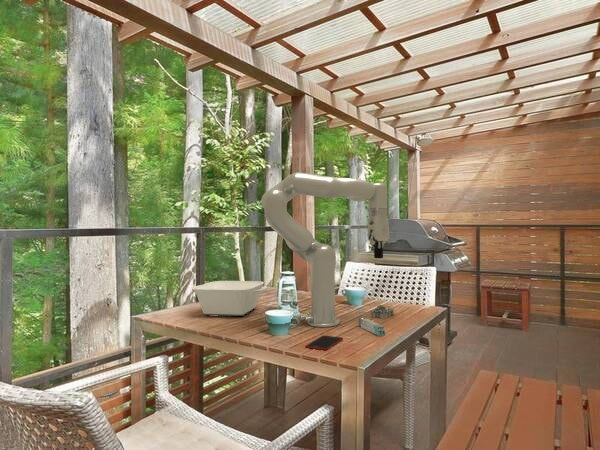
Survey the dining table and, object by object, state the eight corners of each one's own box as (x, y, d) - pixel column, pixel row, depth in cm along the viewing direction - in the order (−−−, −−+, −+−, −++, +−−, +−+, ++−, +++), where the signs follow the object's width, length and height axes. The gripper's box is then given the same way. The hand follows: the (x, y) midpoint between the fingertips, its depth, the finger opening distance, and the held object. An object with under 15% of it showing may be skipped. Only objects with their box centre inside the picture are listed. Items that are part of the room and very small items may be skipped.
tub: (182, 318, 182) (181, 288, 182) (208, 306, 208) (208, 280, 208) (256, 320, 174) (256, 290, 174) (274, 308, 200) (274, 281, 200)
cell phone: (343, 340, 144) (343, 337, 144) (326, 352, 130) (326, 349, 130) (323, 338, 147) (323, 335, 147) (304, 349, 134) (304, 346, 134)
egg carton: (380, 313, 185) (380, 304, 185) (396, 315, 181) (396, 305, 181) (368, 317, 177) (368, 307, 177) (385, 319, 172) (384, 309, 172)
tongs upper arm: (361, 323, 159) (361, 319, 159) (367, 322, 159) (367, 318, 159) (377, 331, 146) (377, 326, 146) (384, 330, 147) (384, 326, 147)
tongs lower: (357, 325, 162) (357, 317, 162) (363, 325, 163) (363, 316, 163) (378, 336, 146) (378, 326, 146) (385, 335, 147) (385, 326, 147)
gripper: (376, 212, 164) (376, 259, 164) (395, 213, 175) (395, 257, 175) (359, 213, 169) (360, 259, 169) (379, 213, 180) (380, 256, 180)
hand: (378, 258), depth 172 cm, fingers closed
